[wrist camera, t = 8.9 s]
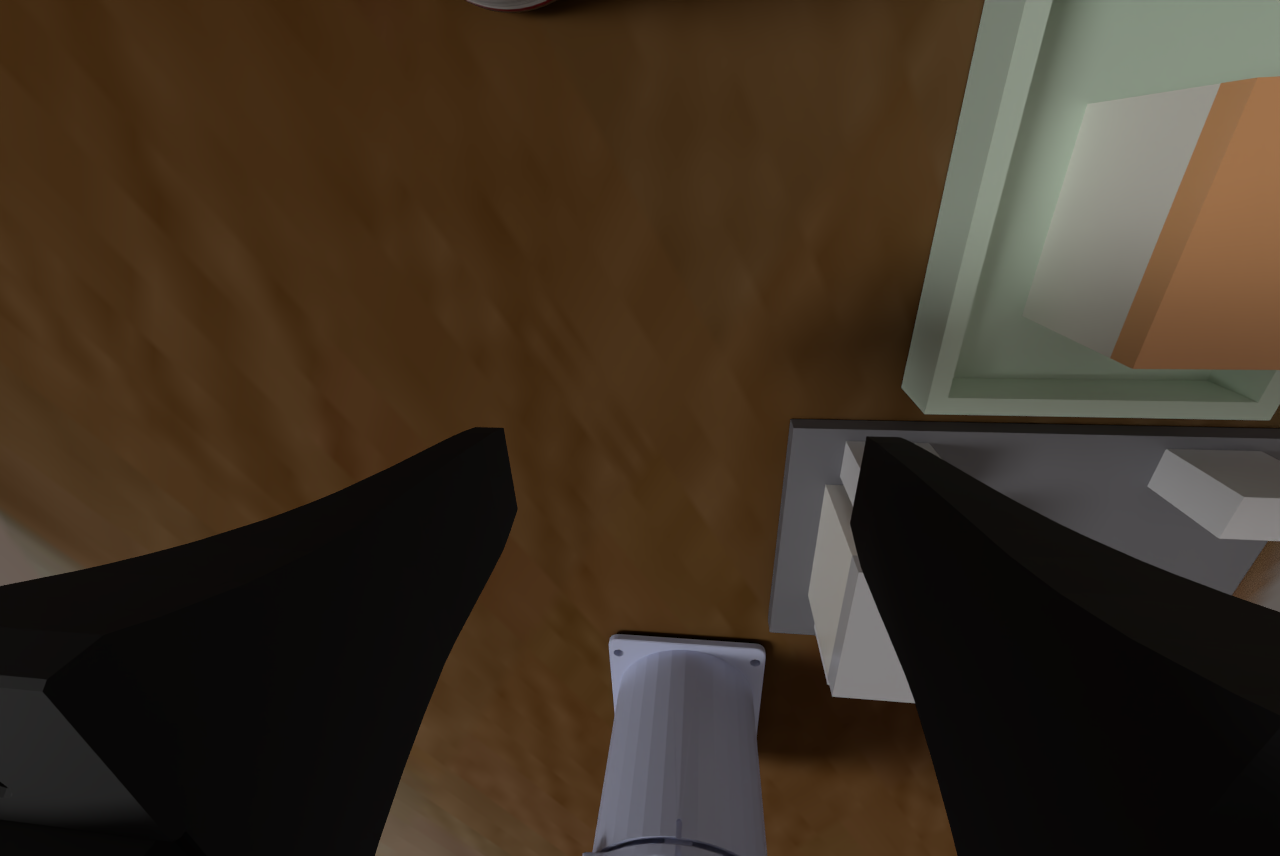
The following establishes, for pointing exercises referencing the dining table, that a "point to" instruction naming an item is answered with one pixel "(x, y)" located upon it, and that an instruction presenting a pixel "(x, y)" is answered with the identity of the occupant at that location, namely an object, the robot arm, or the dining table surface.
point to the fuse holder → (1058, 491)
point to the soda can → (511, 5)
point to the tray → (1028, 193)
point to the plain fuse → (850, 613)
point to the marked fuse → (1170, 231)
